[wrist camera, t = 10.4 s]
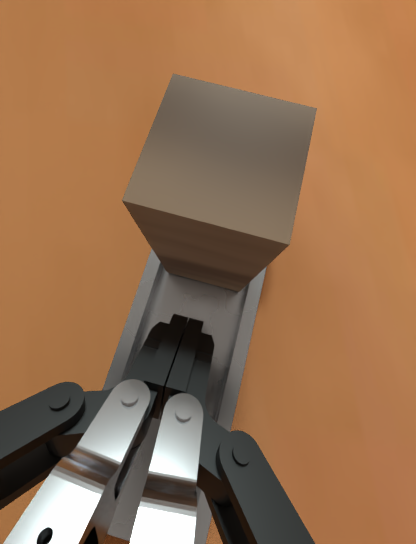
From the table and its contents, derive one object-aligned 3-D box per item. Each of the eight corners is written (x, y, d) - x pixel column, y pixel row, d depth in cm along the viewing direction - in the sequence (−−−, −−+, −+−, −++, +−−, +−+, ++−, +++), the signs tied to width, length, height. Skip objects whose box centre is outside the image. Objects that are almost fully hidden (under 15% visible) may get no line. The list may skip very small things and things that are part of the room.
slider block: (239, 291, 15) (289, 244, 7) (166, 272, 16) (121, 200, 7) (255, 224, 16) (316, 108, 8) (187, 206, 17) (173, 73, 8)
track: (198, 542, 13) (196, 665, 9) (74, 503, 14) (4, 600, 9) (273, 209, 18) (299, 166, 14) (182, 185, 19) (175, 135, 14)
